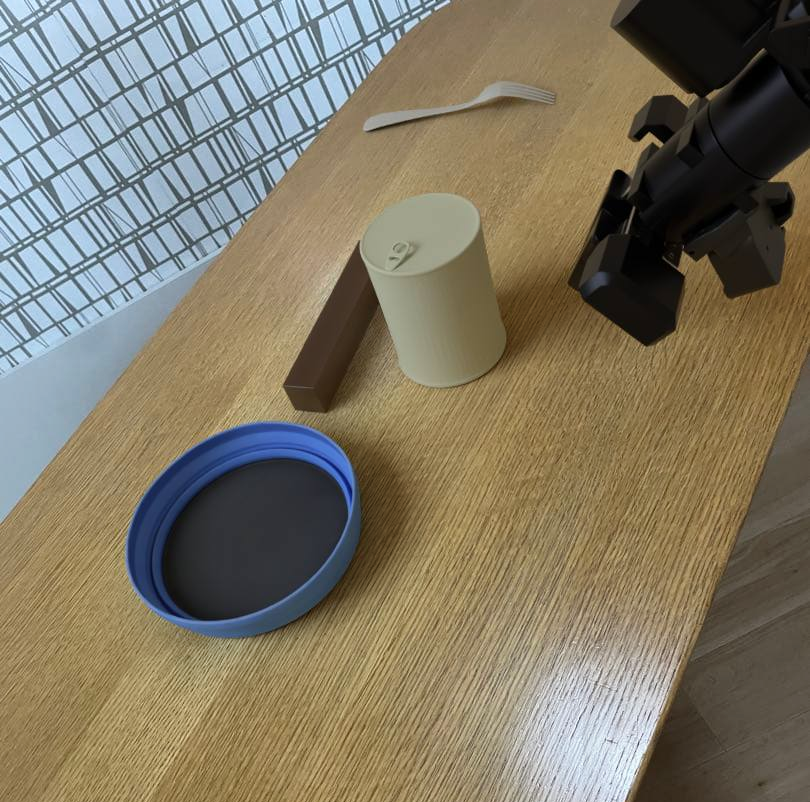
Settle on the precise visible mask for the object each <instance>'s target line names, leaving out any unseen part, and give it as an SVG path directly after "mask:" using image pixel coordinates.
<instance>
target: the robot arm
mask: <svg viewBox="0 0 810 802" xmlns="http://www.w3.org/2000/svg"><path fill="white" fill-rule="evenodd" d="M609 23H610V24H609V27H610V28H611V29H612V30H613V31H615V32H616V33H617V35H619V36H621V38H623V40H624V41H626V42H627V43H628V44H629V45H631V46H632V47H633V48H634V49H635V50H636V51H637V52H638V53H640V55H642V56H643V57H644V58H645V59H646V60H648V61H649V62H650V63H651V64H652V65H653V66H655V67H656V68H657V69H658V70H659V71H660V72H662V73H663V74H664V75H665V76H666V77H667V78H668V79H670V81H672V82H673V83H674V84H675V85H676V86H678V88H680V89H681V90H682V91H683V92H684V93H685V94H686V95H693V94H694V95H695V96H697V97H696V98H695V100H693V101H692V103H691V104H689V105H688V106H687V105H686V104H684V103H683V102H682V100H680V99H679V98H678V97H676V95H674V94H661V95H652V96H651V97H650V98H649V99H648V100H647V102H646V103H645V104H644V105H643V106H642V107H641V108H639V110H638V111H637V112H636V113H635V114H634V116H633V119H632V122H631V124H630V129H629V131H628V134H627V138H628V139H629V140H630V141H631V142H632V143H639V142H641V141H642V140H643V139H644V138H645V137H646V136H647V135H648V134H649V133H650V134H651V135H652V136H654V138H656V139H657V140H658V141H659V142H661V144H662V145H661V146H659V145H657V144H656V143H655V142H654V141H651V142H650V143H649V144H648V145H647V146H646V147H645V148H644V149H643V150H642V151H641V152H640V155H639V156H638V157H637V161H636V164H635V166H634V167H633V169H632V170H631V171H629V173H626V172H625V171H624V170H622V169H620V168H617V169H615V170H614V171H613V172H612V174H611V176H610V180H609V182H608V184H607V187H606V189H605V191H604V194H603V197H602V199H601V201H600V204H599V206H598V208H597V211H596V213H595V215H594V218H593V220H592V223H591V225H590V227H589V230H588V231H587V234H586V237H585V239H584V242H583V243H582V246H581V249H580V251H579V252H578V255H577V257H576V260H575V262H574V265H573V267H572V269H571V271H570V274H569V275H568V276H569V277H568V280H567V283H566V284H567V286H568V287H570V288H571V289H573V290H574V291H576V292H578V293H579V294H580V297H581V299H582V301H583V302H584V303H586V304H587V305H588V306H590V307H591V308H592V309H594V310H595V311H597V312H598V313H599V314H600V315H602V316H604V318H606V319H607V320H609V321H610V322H612V323H613V324H614V325H616V326H617V327H618V328H620V329H621V330H622V331H624V332H625V333H627V334H628V335H629V336H630V337H632V338H633V339H635V341H637V342H638V343H640V344H641V345H642V346H644V347H645V348H647V347H653V346H656V345H657V344H658V343H660V342H662V341H663V340H664V339H666V338H667V337H669V336H670V335H672V334H673V333H674V332H676V331H677V328H678V323H679V319H680V314H681V311H682V305H683V302H684V298H685V294H686V275H685V274H684V273H682V272H681V271H680V270H678V268H679V267H680V263H681V259H682V255H683V253H684V254H686V255H687V256H688V257H689V258H691V259H692V260H693V261H694V262H696V263H697V262H699V261H700V260H702V259H703V258H704V257H705V256H707V258H708V260H709V263H710V264H711V266H712V268H713V269H714V271H715V273H716V275H717V277H718V278H719V280H720V283H721V284H722V286H723V288H722V292H723V294H724V295H725V297H726V298H727V299H728V300H733V299H737V298H741V297H743V296H746V295H749V294H753V293H756V292H759V291H762V290H765V289H769V288H771V287H775V286H778V285H780V283H781V281H782V275H783V268H784V262H785V256H786V247H787V246H786V244H787V243H786V232H787V228H786V227H785V226H784V224H785V223H786V222H787V221H788V220H789V219H791V218H792V217H793V214H794V210H795V203H796V195H795V193H794V191H793V188H792V186H791V184H790V182H789V181H771V180H772V179H773V178H774V177H775V176H777V175H778V174H779V173H781V172H782V171H783V170H784V169H785V168H787V167H788V166H789V165H791V164H792V163H793V162H795V161H796V160H797V159H798V158H800V157H801V156H802V155H804V154H805V153H806V152H807V151H808V150H810V0H620V1H619V3H618V5H617V6H616V8H615V11H614V13H613V14H612V17H611V20H610V22H609ZM718 90H720V91H718ZM714 91H718V92H717V93H716V94H715V95H714V96H713V97H712V98H710V99H709V98H708V97H707V96H708V95H710V94H711V93H712V92H714Z"/></svg>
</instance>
